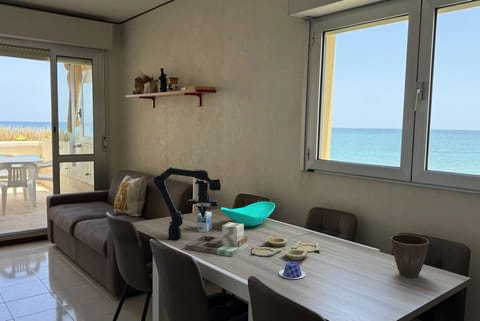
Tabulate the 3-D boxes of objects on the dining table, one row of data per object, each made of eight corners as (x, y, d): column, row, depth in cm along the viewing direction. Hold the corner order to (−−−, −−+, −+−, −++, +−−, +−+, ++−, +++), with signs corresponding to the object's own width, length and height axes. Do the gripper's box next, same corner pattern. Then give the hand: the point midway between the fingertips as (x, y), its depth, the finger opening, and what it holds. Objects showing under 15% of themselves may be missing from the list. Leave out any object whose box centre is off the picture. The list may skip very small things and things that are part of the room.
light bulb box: (207, 232, 235) (207, 215, 234) (197, 231, 237) (196, 214, 236) (212, 227, 246) (212, 211, 245) (202, 227, 247) (202, 211, 246)
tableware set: (325, 247, 206) (325, 240, 205) (312, 265, 179) (312, 257, 179) (265, 239, 220) (265, 233, 220) (244, 255, 194) (244, 247, 193)
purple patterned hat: (284, 268, 175) (284, 257, 175) (309, 272, 170) (309, 261, 169) (274, 277, 165) (274, 265, 164) (300, 282, 159) (300, 270, 159)
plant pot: (409, 284, 156) (410, 246, 154) (382, 271, 169) (383, 236, 168) (435, 278, 162) (436, 241, 160) (407, 266, 175) (408, 233, 174)
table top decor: (259, 217, 274) (259, 199, 273) (284, 225, 251) (285, 205, 250) (212, 225, 252) (211, 205, 250) (235, 235, 229) (235, 213, 228)
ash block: (222, 243, 203) (222, 225, 202) (229, 239, 210) (229, 222, 210) (237, 246, 199) (237, 227, 198) (243, 241, 207) (243, 224, 206)
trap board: (186, 248, 203) (185, 238, 203) (204, 239, 220) (204, 230, 220) (232, 256, 191) (232, 245, 190) (248, 245, 208) (248, 236, 207)
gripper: (221, 189, 229) (222, 214, 230) (192, 188, 232) (192, 213, 234) (217, 192, 218) (217, 219, 219) (186, 191, 221) (186, 217, 223)
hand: (203, 217), depth 224 cm, fingers closed
